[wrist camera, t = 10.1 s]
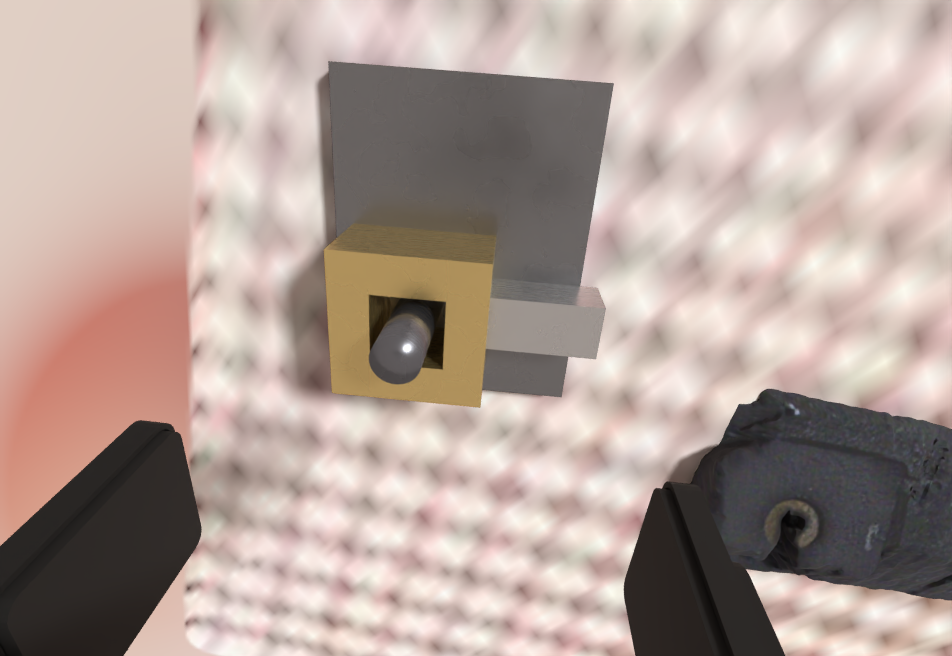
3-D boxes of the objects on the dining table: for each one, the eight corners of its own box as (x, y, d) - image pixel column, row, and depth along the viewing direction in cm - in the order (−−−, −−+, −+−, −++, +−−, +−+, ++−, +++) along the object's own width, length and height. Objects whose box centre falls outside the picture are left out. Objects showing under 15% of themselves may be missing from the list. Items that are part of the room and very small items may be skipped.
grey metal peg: (404, 274, 30) (368, 335, 23) (446, 278, 30) (422, 340, 23) (404, 312, 31) (369, 381, 24) (444, 316, 31) (420, 386, 24)
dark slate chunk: (927, 596, 41) (976, 656, 36) (654, 541, 40) (671, 596, 36) (1058, 441, 34) (1137, 493, 30) (734, 374, 34) (765, 416, 29)
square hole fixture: (337, 62, 27) (288, 56, 21) (628, 85, 26) (660, 85, 21) (349, 364, 35) (315, 422, 29) (574, 386, 34) (587, 448, 28)
